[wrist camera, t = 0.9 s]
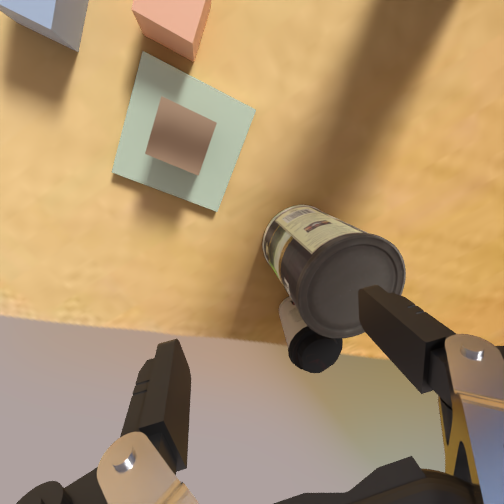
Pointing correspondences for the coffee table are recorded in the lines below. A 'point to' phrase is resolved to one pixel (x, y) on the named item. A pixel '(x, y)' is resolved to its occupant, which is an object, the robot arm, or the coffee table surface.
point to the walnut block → (180, 136)
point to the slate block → (50, 18)
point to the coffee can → (329, 267)
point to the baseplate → (195, 99)
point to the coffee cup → (307, 341)
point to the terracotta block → (173, 23)
